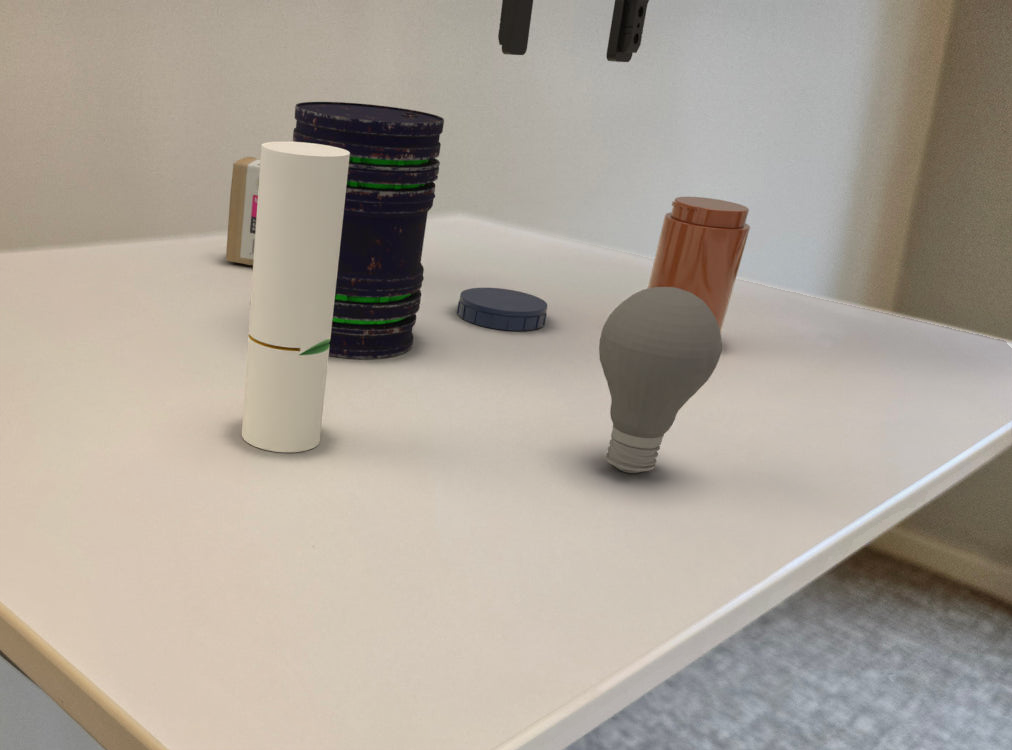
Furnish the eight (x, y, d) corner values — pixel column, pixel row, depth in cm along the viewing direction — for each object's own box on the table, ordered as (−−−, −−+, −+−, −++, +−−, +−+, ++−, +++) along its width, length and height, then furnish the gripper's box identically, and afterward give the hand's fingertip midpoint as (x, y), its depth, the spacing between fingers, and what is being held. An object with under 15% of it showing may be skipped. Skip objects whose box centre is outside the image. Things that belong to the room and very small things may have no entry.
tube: (249, 452, 57) (270, 153, 50) (235, 422, 60) (254, 139, 53) (327, 452, 57) (360, 158, 50) (310, 422, 61) (337, 144, 54)
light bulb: (653, 448, 62) (698, 275, 57) (705, 493, 57) (759, 307, 52) (556, 447, 61) (593, 271, 56) (600, 493, 56) (646, 303, 51)
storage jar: (302, 361, 71) (324, 119, 64) (257, 317, 79) (272, 98, 72) (438, 357, 74) (473, 126, 67) (381, 315, 82) (408, 105, 75)
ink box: (223, 263, 92) (229, 161, 88) (238, 254, 95) (244, 155, 92) (338, 281, 90) (349, 177, 86) (349, 272, 93) (360, 171, 89)
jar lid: (473, 329, 81) (476, 310, 80) (446, 304, 86) (448, 285, 86) (557, 332, 82) (561, 313, 81) (525, 307, 88) (528, 288, 87)
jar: (663, 324, 87) (696, 193, 82) (731, 345, 83) (770, 209, 78) (621, 334, 83) (653, 197, 78) (690, 356, 79) (728, 214, 74)
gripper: (478, -220, 70) (450, 51, 77) (680, -247, 62) (628, 62, 68) (542, -200, 75) (511, 54, 82) (738, -222, 66) (684, 65, 73)
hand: (564, 58), depth 75 cm, fingers open, 8 cm apart
